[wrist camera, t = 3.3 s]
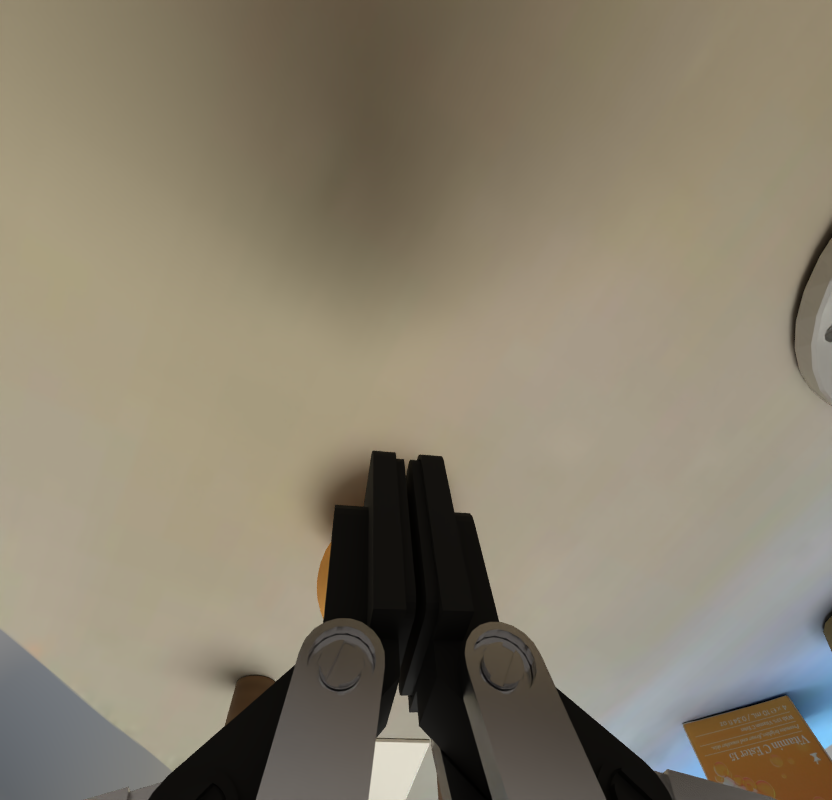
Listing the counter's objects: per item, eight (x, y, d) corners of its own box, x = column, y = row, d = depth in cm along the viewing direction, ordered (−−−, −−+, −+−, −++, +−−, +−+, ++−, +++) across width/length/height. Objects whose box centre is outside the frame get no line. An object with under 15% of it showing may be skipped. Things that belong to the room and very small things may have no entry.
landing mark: (259, 735, 33) (258, 738, 33) (429, 740, 35) (429, 743, 35) (261, 799, 40) (260, 802, 40) (404, 800, 42) (403, 803, 42)
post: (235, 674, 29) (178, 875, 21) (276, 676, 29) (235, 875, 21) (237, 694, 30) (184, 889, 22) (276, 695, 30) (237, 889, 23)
